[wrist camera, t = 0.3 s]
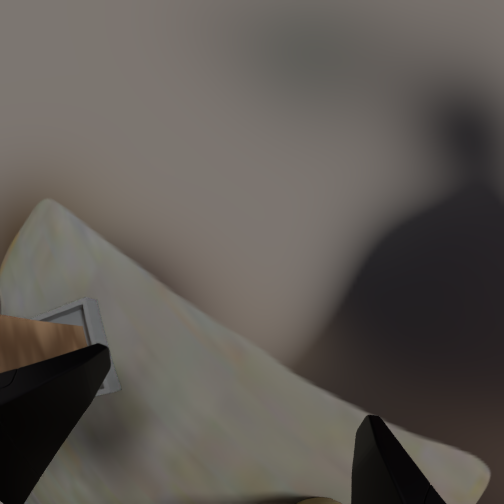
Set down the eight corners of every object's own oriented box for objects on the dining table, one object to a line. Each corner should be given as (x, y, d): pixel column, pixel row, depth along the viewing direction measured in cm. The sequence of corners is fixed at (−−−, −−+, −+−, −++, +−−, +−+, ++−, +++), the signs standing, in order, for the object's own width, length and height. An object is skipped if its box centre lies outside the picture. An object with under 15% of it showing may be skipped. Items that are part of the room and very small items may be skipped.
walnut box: (94, 372, 23) (-16, 384, 10) (62, 380, 22) (-43, 389, 10) (82, 326, 24) (-28, 309, 11) (51, 336, 24) (-54, 323, 11)
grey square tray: (121, 389, 23) (111, 393, 21) (57, 401, 22) (45, 404, 20) (97, 299, 25) (85, 296, 23) (38, 321, 25) (25, 320, 23)
